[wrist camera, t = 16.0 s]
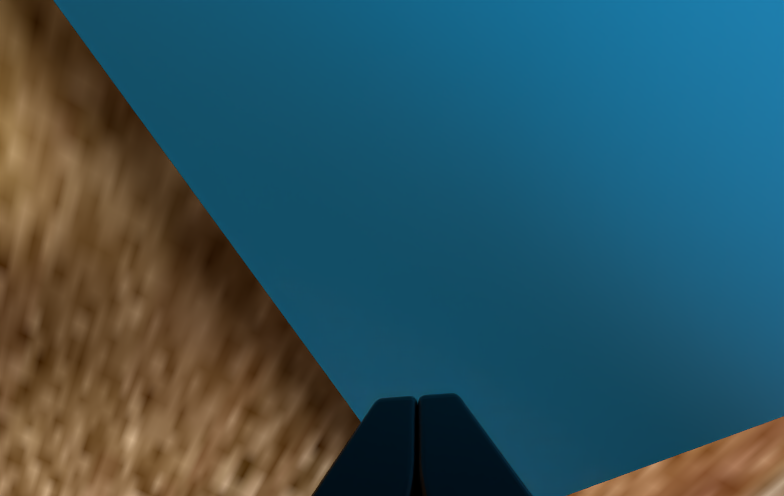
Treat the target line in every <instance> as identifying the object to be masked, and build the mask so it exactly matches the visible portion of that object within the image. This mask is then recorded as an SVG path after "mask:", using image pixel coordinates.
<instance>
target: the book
mask: <svg viewBox="0 0 784 496" xmlns="http://www.w3.org/2000/svg"><path fill="white" fill-rule="evenodd" d="M54 2H55V3H56V5H57V6H58V7H59V9H60V10H61V11H62V13H63V14H64V15H65V17H66V18H67V20H68V21H69V22H70V24H71V25H72V26H73V28H74V29H75V31H76V32H77V33H78V35H79V36H80V37H81V39H82V40H83V42H84V43H85V44H86V46H87V47H88V48H89V50H90V51H91V53H92V54H93V55H94V57H95V58H96V59H97V61H98V62H99V63H100V65H101V66H102V68H103V69H104V70H105V72H106V73H107V74H108V76H109V77H110V79H111V80H112V81H113V83H114V84H115V85H116V87H117V88H118V90H119V91H120V92H121V94H122V95H123V96H124V98H125V99H126V100H127V102H128V103H129V105H130V106H131V107H132V109H133V110H134V111H135V113H136V114H137V116H138V117H139V118H140V120H141V121H142V122H143V124H144V125H145V127H146V128H147V129H148V131H149V132H150V133H151V135H152V136H153V137H154V139H155V140H156V142H157V143H158V144H159V146H160V147H161V148H162V150H163V151H164V153H165V154H166V155H167V157H168V158H169V159H170V161H171V162H172V164H173V165H174V166H175V168H176V169H177V170H178V172H179V173H180V174H181V176H182V177H183V179H184V180H185V181H186V183H187V184H188V185H189V187H190V188H191V190H192V191H193V192H194V194H195V195H196V196H197V198H198V199H199V201H200V202H201V203H202V205H203V206H204V207H205V209H206V210H207V212H208V213H209V214H210V216H211V217H212V218H213V220H214V221H215V222H216V224H217V225H218V227H219V228H220V229H221V231H222V232H223V233H224V235H225V236H226V238H227V239H228V240H229V242H230V243H231V244H232V246H233V247H234V249H235V250H236V251H237V253H238V254H239V255H240V257H241V258H242V259H243V261H244V262H245V264H246V265H247V266H248V268H249V269H250V270H251V272H252V273H253V275H254V276H255V277H256V279H257V280H258V281H259V283H260V284H261V286H262V287H263V288H264V290H265V291H266V292H267V294H268V295H269V296H270V298H271V299H272V301H273V302H274V303H275V305H276V306H277V307H278V309H279V310H280V312H281V313H282V314H283V316H284V317H285V318H286V320H287V321H288V323H289V324H290V325H291V327H292V328H293V329H294V331H295V332H296V333H297V335H298V336H299V338H300V339H301V340H302V342H303V343H304V344H305V346H306V347H307V349H308V350H309V351H310V353H311V354H312V355H313V357H314V358H315V360H316V361H317V362H318V364H319V365H320V366H321V368H322V369H323V370H324V372H325V373H326V375H327V376H328V377H329V379H330V380H331V381H332V383H333V384H334V386H335V387H336V388H337V390H338V391H339V392H340V394H341V395H342V397H343V398H344V399H345V401H346V402H347V403H348V405H349V406H350V408H351V409H352V410H353V412H354V413H355V414H356V416H357V417H358V418H359V420H360V421H361V422H362V420H363V419H364V417H365V416H366V414H367V413H368V411H369V410H370V408H371V407H372V405H373V404H374V403H375V401H377V400H378V399H380V398H387V397H402V396H413V397H414V398H415V399H416V400H417V403H418V400H419V398H420V397H421V396H423V395H431V394H446V393H455V394H457V395H459V396H460V397H461V399H462V400H463V401H464V403H465V404H466V405H467V407H468V408H469V409H470V411H471V412H472V414H473V415H474V416H475V418H476V419H477V420H478V422H479V423H480V424H481V426H482V427H483V429H484V430H485V431H486V433H487V434H488V435H489V437H490V438H491V439H492V441H493V442H494V444H495V445H496V446H497V448H498V449H499V450H500V452H501V453H502V454H503V456H504V457H505V459H506V460H507V461H508V463H509V464H510V465H511V467H512V468H513V469H514V471H515V472H516V474H517V475H518V476H519V478H520V479H521V480H522V482H523V483H524V484H525V486H526V487H527V489H528V490H529V491H530V493H531V494H532V495H533V496H566V495H569V494H572V493H575V492H577V491H580V490H583V489H586V488H588V487H591V486H594V485H596V484H599V483H602V482H605V481H607V480H610V479H613V478H616V477H618V476H621V475H624V474H627V473H629V472H632V471H635V470H638V469H640V468H643V467H646V466H648V465H651V464H654V463H657V462H659V461H662V460H665V459H668V458H670V457H673V456H676V455H679V454H681V453H684V452H687V451H690V450H692V449H695V448H698V447H701V446H703V445H706V444H709V443H711V442H714V441H717V440H720V439H722V438H725V437H728V436H731V435H733V434H736V433H739V432H742V431H744V430H747V429H750V428H753V427H755V426H758V425H761V424H763V423H766V422H769V421H772V420H774V419H777V418H780V417H783V416H784V0H54Z"/></svg>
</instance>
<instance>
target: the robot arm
mask: <svg viewBox="0 0 784 496" xmlns="http://www.w3.org/2000/svg"><path fill="white" fill-rule="evenodd" d="M312 496H533V495H532V494H531V493H530V491H529V490H528V489H527V487H526V486H525V484H524V483H523V482H522V480H521V479H520V478H519V476H518V475H517V474H516V472H515V471H514V469H513V468H512V467H511V465H510V464H509V463H508V461H507V460H506V459H505V457H504V456H503V454H502V453H501V452H500V450H499V449H498V448H497V446H496V445H495V444H494V442H493V441H492V439H491V438H490V437H489V435H488V434H487V433H486V431H485V430H484V429H483V427H482V426H481V424H480V423H479V422H478V420H477V419H476V418H475V416H474V415H473V414H472V412H471V411H470V409H469V408H468V407H467V405H466V404H465V403H464V401H463V400H462V399H461V397H460V396H459V395H457V394H455V393H446V394H431V395H423V396H421V397H420V398H419V400H418V403H417V400H416V399H415V398H414V397H413V396H402V397H387V398H380V399H378V400H377V401H375V403H374V404H373V405H372V407H371V408H370V410H369V411H368V413H367V414H366V416H365V417H364V419H363V420H362V422H361V423H360V425H359V426H358V428H357V429H356V431H355V432H354V434H353V435H352V437H351V438H350V439H349V441H348V442H347V444H346V445H345V447H344V448H343V450H342V451H341V453H340V454H339V456H338V457H337V459H336V460H335V462H334V463H333V465H332V466H331V468H330V469H329V471H328V472H327V473H326V475H325V476H324V478H323V479H322V481H321V482H320V484H319V485H318V487H317V488H316V490H315V491H314V493H313V494H312Z"/></svg>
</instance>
